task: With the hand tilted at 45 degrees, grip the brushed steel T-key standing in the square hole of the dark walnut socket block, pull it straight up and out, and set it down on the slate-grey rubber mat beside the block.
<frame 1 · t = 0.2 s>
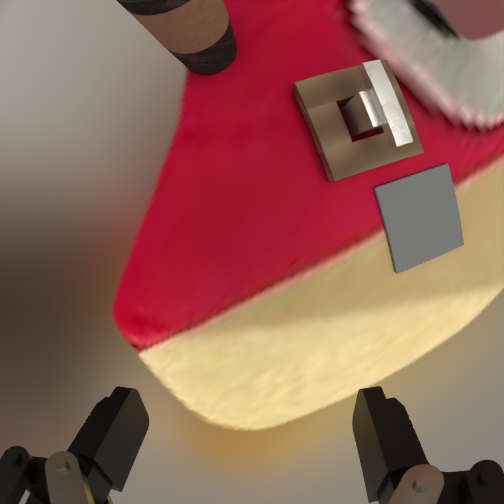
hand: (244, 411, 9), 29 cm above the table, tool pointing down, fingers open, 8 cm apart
t key: (369, 112, 26), in the socket block
travel mug: (210, 52, 31), on the table
socket block: (354, 121, 32), on the table
grey mat: (422, 217, 35), on the table
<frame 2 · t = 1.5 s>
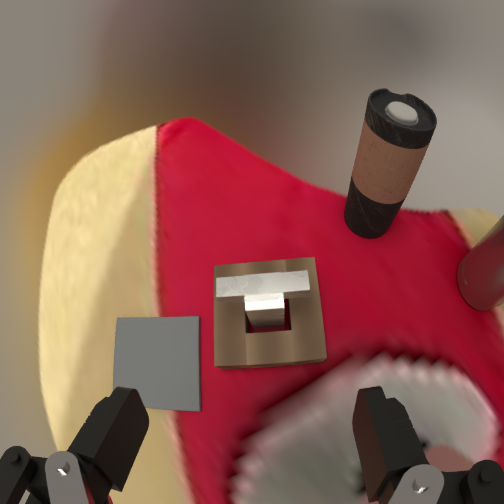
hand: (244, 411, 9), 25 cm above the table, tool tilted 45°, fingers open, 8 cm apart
t key: (266, 304, 30), in the socket block
travel mug: (366, 218, 41), on the table
socket block: (268, 319, 36), on the table
grey mat: (155, 363, 34), on the table
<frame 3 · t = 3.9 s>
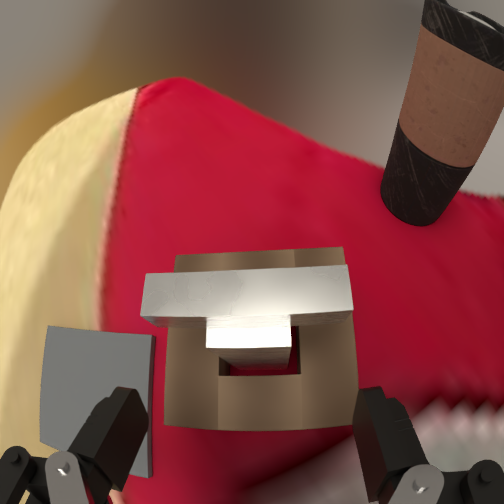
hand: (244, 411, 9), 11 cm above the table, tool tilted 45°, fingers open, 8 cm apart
t key: (256, 329, 16), in the socket block
travel mug: (411, 198, 26), on the table
socket block: (263, 347, 21), on the table
grey mat: (91, 397, 20), on the table
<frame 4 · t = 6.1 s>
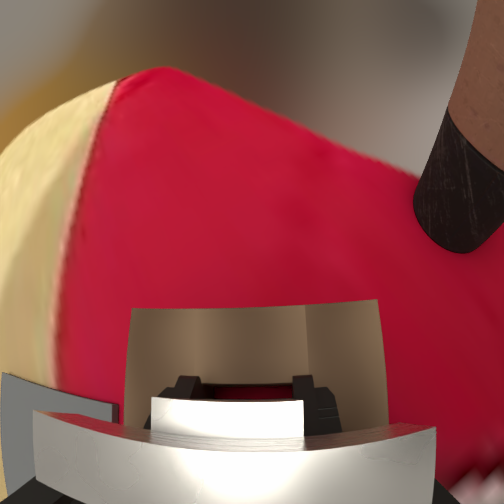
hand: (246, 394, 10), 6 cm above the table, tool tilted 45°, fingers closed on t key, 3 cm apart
t key: (245, 445, 9), in the socket block, touching gripper, hand
travel mug: (449, 215, 19), on the table
socket block: (258, 428, 14), on the table
grey mat: (53, 462, 13), on the table
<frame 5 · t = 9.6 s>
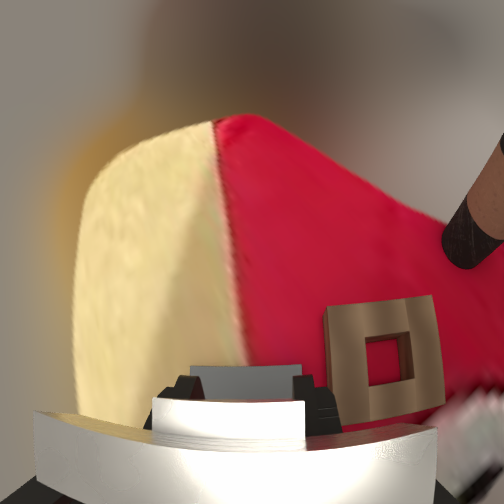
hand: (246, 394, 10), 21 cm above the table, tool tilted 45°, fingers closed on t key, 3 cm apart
t key: (246, 445, 9), point 21 cm above the table, touching gripper, hand
travel mug: (460, 247, 33), on the table
socket block: (378, 362, 28), on the table
grey mat: (245, 420, 27), on the table
when the fingers open (7 cm above the table, at t = 13.3 s): t key stays where it is, point 7 cm above the table.
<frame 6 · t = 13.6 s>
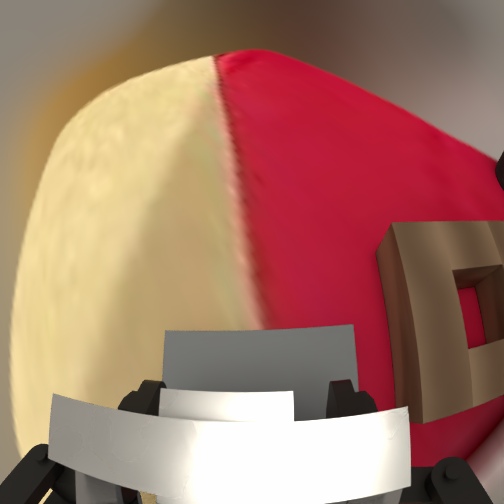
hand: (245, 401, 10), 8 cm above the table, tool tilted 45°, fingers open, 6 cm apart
t key: (244, 446, 9), point 7 cm above the table, tilted 6°, touching gripper
socket block: (458, 321, 17), on the table
grey mat: (259, 424, 16), on the table
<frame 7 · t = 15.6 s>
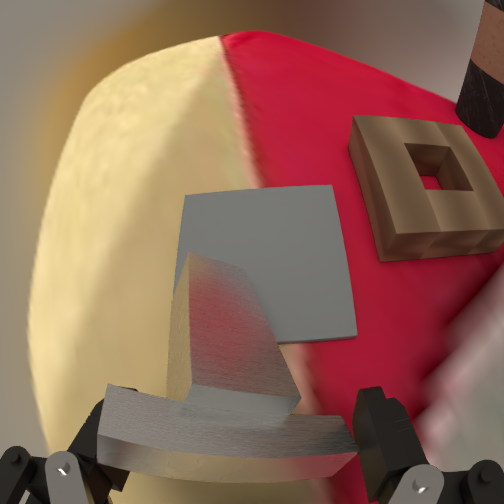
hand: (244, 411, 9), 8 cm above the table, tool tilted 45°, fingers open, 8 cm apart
t key: (216, 348, 12), on the table, tilted 52°, touching gripper
travel mug: (476, 122, 28), on the table
socket block: (423, 196, 22), on the table
grey mat: (260, 260, 21), on the table
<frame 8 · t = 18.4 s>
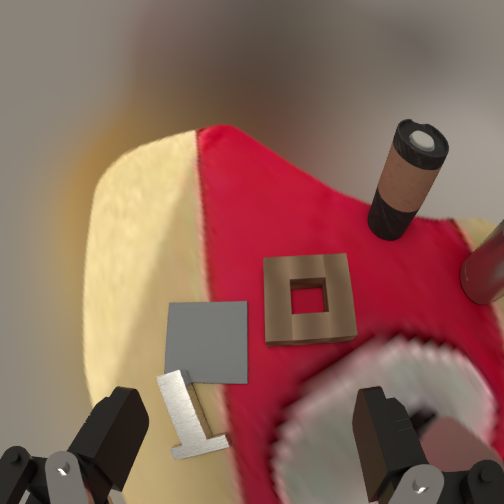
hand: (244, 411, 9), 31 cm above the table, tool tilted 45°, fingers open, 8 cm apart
t key: (186, 413, 34), on the table, tilted 96°, touching grey mat
travel mug: (385, 223, 47), on the table
socket block: (306, 304, 42), on the table
grey mat: (206, 342, 41), on the table
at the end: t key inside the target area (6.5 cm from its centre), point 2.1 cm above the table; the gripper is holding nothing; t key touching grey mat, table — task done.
